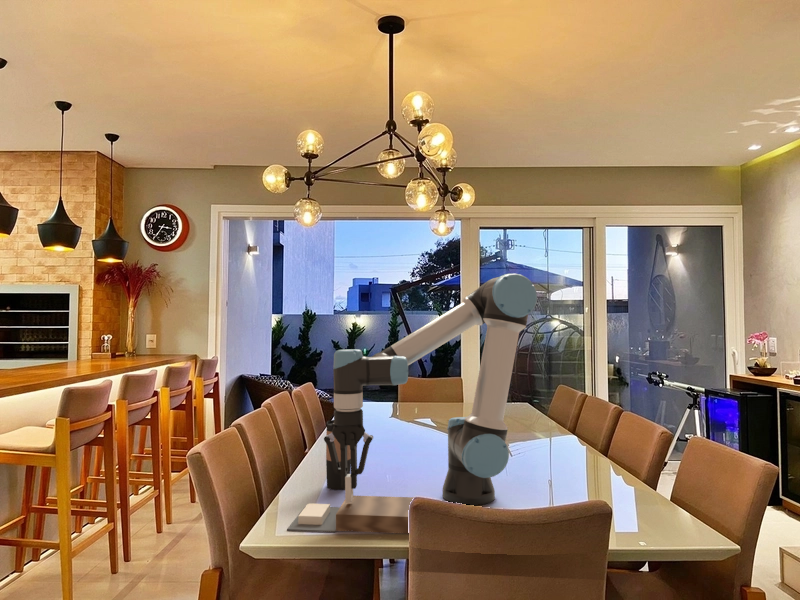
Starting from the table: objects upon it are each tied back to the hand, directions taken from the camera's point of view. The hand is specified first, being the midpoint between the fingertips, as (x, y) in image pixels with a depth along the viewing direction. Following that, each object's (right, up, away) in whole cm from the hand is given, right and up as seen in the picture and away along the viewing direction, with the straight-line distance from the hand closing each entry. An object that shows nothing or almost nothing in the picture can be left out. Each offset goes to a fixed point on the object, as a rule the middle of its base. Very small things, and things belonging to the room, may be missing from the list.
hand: (349, 500), depth 134 cm
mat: (-8, -5, 0) cm, 9 cm away
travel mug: (-6, -6, +27) cm, 29 cm away
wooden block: (+8, -5, -1) cm, 10 cm away
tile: (-9, -3, +1) cm, 9 cm away
